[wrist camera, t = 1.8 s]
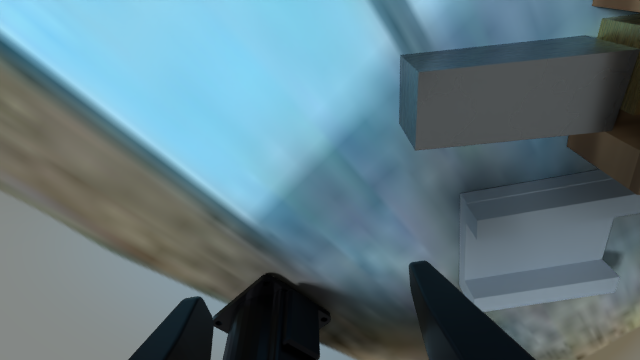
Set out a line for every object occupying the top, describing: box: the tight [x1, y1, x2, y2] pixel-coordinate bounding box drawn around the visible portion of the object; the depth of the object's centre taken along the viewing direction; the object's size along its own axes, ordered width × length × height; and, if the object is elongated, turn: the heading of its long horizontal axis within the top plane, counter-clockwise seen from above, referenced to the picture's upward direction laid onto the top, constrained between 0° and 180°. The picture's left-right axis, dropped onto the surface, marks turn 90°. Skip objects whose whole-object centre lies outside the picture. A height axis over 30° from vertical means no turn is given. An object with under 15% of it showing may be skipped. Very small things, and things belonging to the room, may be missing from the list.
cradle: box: [459, 170, 640, 312], centre depth 23 cm, size 9×8×3 cm
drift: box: [399, 36, 640, 150], centre depth 17 cm, size 9×4×4 cm, turn 96°
